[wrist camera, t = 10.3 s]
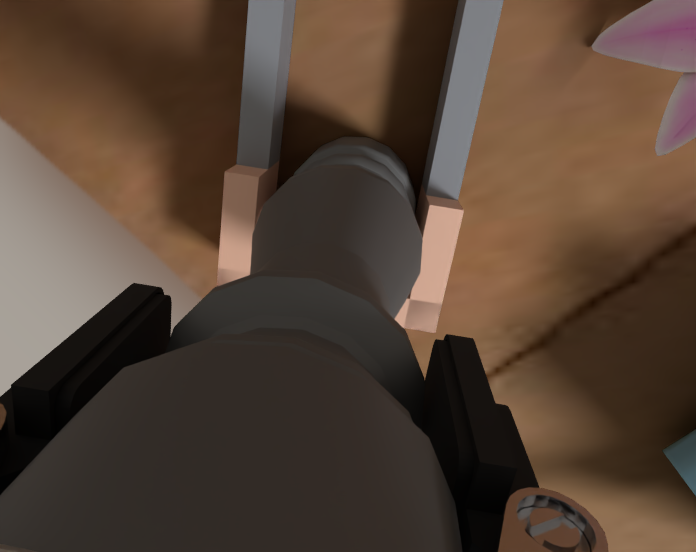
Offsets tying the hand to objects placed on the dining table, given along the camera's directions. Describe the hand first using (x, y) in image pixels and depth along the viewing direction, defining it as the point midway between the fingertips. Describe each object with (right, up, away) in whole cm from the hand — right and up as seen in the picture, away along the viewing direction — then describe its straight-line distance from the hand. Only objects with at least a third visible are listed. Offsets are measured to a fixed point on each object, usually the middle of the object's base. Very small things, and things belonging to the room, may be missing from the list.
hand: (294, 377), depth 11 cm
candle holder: (+1, +6, +17) cm, 18 cm away
